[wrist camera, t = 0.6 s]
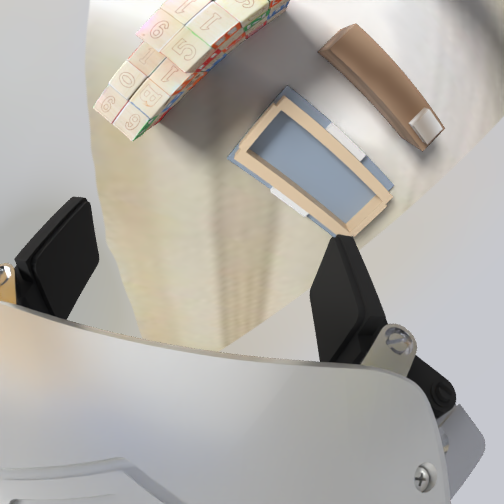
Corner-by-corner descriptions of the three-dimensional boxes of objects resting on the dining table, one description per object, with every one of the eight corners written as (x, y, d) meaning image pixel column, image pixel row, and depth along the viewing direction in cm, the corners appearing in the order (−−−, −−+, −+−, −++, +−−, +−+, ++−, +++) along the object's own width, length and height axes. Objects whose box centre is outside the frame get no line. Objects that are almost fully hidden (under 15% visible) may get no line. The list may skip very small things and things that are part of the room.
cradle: (287, 85, 29) (289, 86, 27) (392, 183, 36) (400, 192, 34) (227, 157, 35) (224, 164, 32) (336, 237, 42) (340, 249, 40)
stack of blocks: (159, 123, 32) (118, 152, 22) (126, 95, 29) (74, 113, 20) (286, 10, 23) (301, -18, 13) (249, -21, 21) (245, -61, 11)
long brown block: (340, 29, 24) (359, 21, 18) (421, 117, 30) (450, 131, 24) (317, 52, 26) (332, 48, 21) (401, 137, 32) (427, 154, 26)
